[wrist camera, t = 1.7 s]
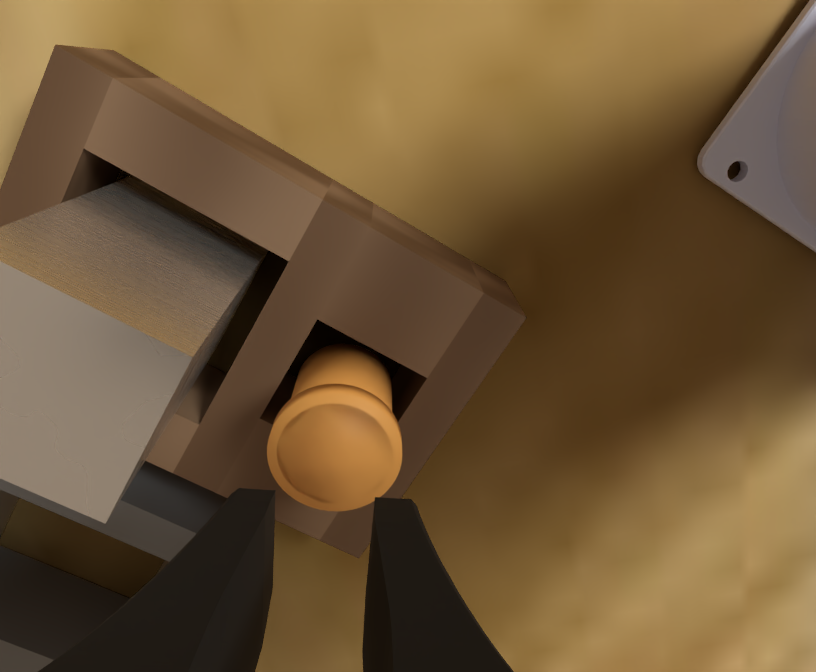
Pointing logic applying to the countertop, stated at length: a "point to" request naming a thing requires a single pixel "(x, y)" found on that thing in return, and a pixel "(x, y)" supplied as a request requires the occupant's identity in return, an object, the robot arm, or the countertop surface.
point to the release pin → (337, 431)
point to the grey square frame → (79, 599)
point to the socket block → (297, 286)
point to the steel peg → (107, 334)
